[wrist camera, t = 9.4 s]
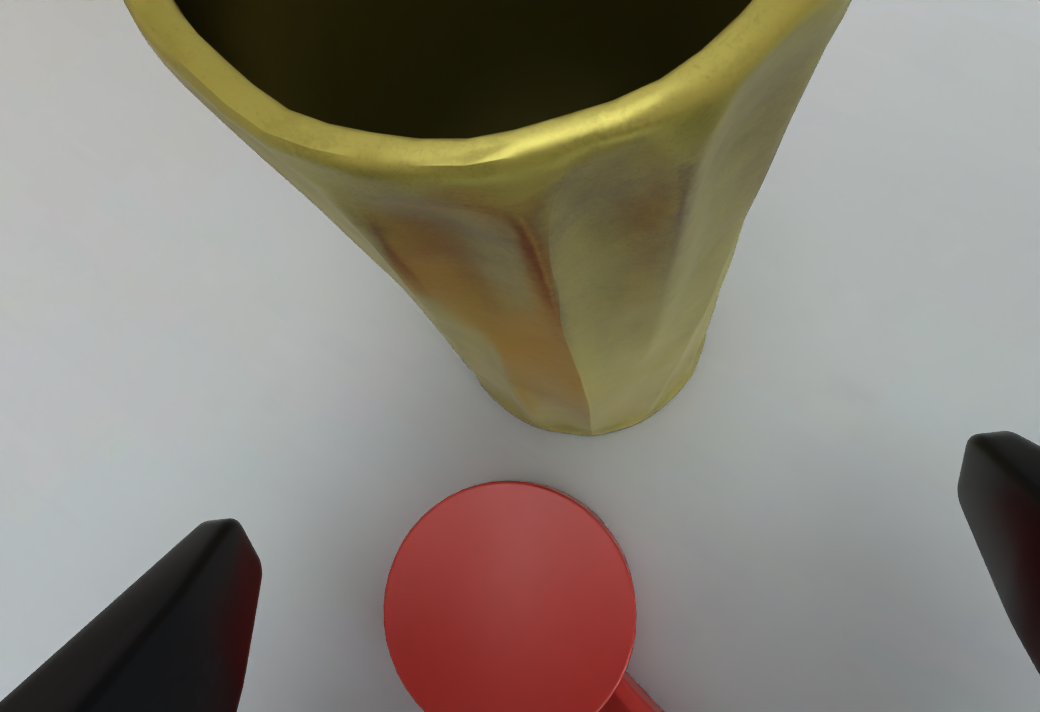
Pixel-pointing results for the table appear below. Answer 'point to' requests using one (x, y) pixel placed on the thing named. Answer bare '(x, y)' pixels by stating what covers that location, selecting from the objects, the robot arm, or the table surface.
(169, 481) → the table surface
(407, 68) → the vase
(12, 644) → the table surface
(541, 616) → the spoon
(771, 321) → the table surface
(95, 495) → the table surface
